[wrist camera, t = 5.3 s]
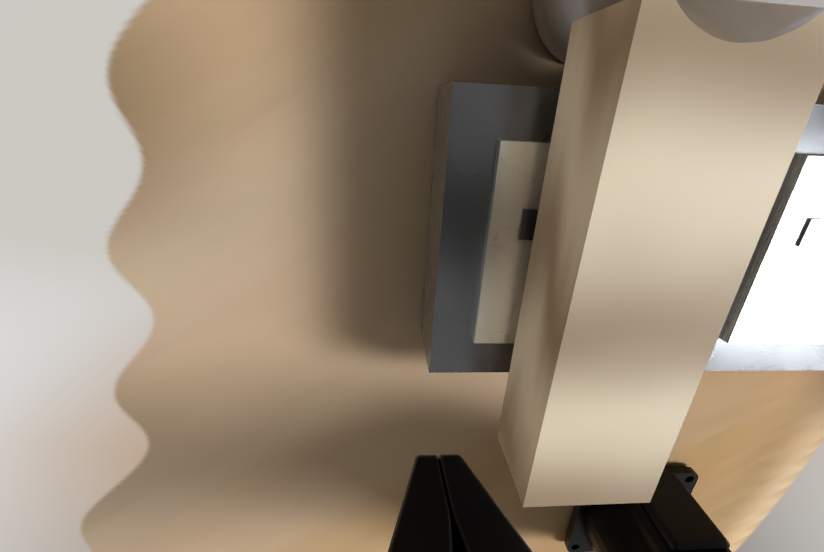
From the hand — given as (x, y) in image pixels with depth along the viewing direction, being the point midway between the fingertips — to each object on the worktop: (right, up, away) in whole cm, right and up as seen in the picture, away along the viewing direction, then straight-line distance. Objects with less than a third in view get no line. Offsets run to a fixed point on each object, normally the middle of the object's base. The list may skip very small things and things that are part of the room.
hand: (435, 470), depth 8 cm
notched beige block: (+5, +7, +8) cm, 12 cm away
